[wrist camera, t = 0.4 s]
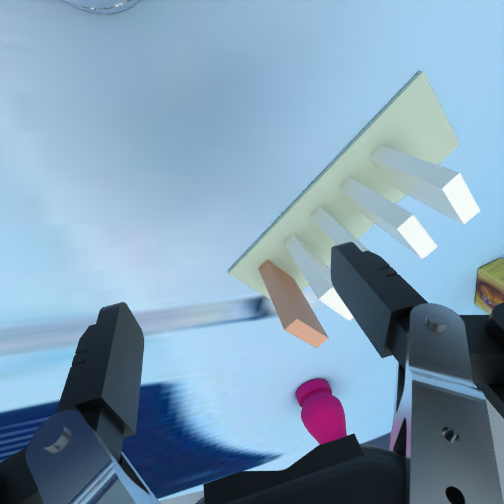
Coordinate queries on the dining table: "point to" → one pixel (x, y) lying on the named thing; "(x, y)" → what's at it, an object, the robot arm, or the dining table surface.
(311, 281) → the domino
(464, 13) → the dining table surface
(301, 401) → the pepper mill
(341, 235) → the domino
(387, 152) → the domino
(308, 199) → the mat
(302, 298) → the domino
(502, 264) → the candy box
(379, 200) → the domino
